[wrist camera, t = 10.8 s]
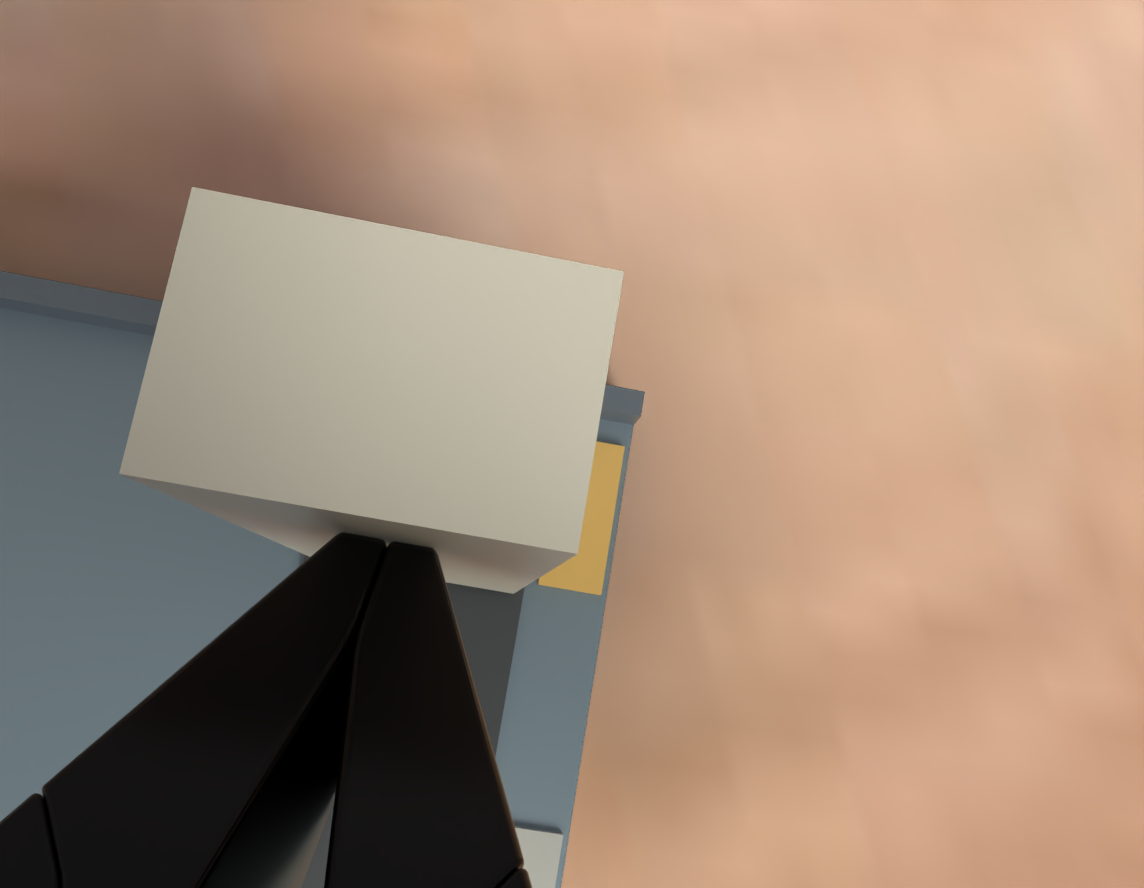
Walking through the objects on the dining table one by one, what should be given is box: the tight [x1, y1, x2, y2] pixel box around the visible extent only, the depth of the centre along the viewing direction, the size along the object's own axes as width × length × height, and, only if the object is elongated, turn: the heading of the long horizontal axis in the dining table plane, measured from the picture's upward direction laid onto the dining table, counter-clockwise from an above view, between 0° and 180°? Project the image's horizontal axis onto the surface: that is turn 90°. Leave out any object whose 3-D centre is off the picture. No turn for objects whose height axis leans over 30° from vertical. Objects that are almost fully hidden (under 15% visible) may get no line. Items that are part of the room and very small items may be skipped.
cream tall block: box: [119, 187, 624, 594], centre depth 11 cm, size 2×3×9 cm, turn 80°
